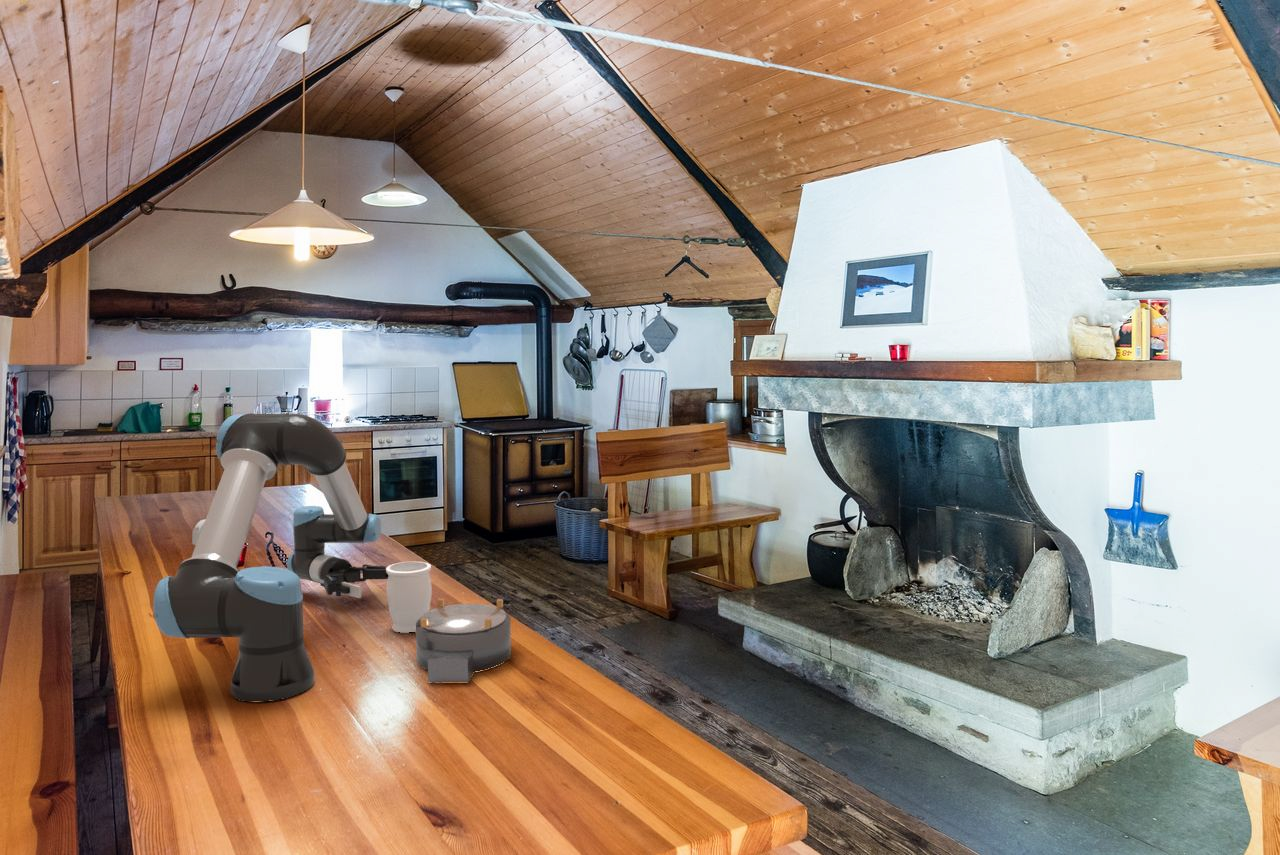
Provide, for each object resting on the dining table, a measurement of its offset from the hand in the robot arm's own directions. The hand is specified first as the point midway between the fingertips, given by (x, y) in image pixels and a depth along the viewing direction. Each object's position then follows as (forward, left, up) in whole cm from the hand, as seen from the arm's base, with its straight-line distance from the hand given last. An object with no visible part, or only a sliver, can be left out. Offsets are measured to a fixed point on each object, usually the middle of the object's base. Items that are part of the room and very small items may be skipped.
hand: (383, 585), depth 205 cm
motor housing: (-26, -25, -9) cm, 37 cm away
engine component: (+19, +54, -9) cm, 58 cm away
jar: (-6, -8, -9) cm, 13 cm away
